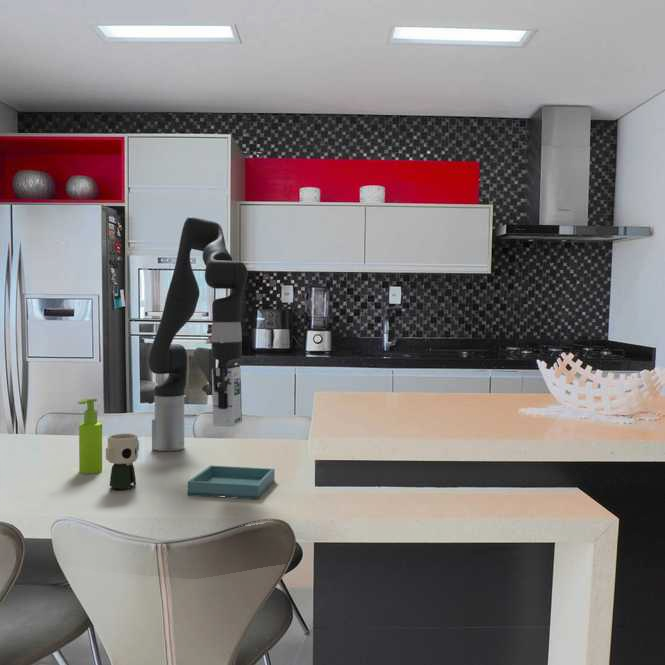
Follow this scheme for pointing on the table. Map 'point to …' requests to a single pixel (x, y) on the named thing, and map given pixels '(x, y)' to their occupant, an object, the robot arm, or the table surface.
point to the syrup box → (229, 400)
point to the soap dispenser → (90, 440)
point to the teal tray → (232, 482)
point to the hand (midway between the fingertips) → (227, 406)
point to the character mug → (122, 459)
